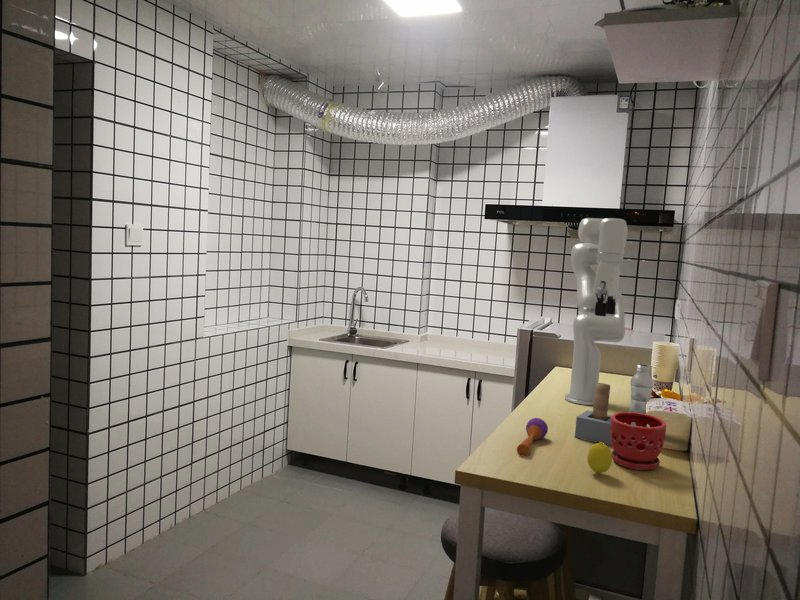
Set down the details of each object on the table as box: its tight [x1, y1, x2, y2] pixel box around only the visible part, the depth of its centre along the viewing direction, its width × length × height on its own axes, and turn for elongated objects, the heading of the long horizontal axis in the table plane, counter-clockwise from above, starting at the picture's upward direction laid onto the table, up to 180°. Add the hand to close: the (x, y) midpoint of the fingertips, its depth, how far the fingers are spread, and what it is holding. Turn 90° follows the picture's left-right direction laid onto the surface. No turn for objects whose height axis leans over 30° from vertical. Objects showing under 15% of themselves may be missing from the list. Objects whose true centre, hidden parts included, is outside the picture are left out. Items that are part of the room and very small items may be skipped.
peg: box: [592, 382, 611, 421], centre depth 175 cm, size 4×4×14 cm
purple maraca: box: [516, 417, 549, 457], centre depth 165 cm, size 6×6×20 cm
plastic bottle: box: [628, 363, 654, 427], centre depth 186 cm, size 6×7×20 cm
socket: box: [574, 409, 613, 446], centre depth 176 cm, size 10×10×6 cm
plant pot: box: [610, 411, 667, 471], centre depth 154 cm, size 13×13×12 cm
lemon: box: [587, 442, 613, 475], centre depth 146 cm, size 6×6×8 cm
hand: (604, 314), depth 187 cm, fingers open, 9 cm apart
